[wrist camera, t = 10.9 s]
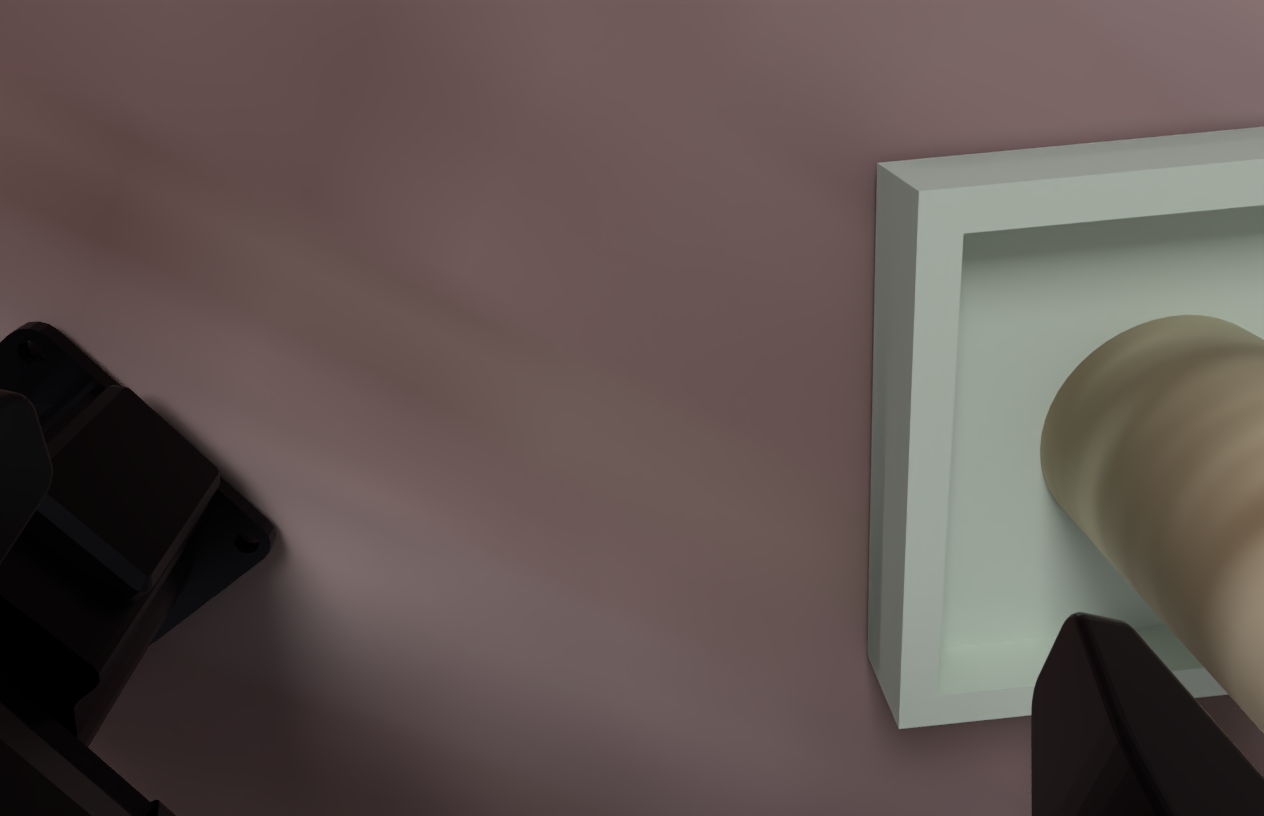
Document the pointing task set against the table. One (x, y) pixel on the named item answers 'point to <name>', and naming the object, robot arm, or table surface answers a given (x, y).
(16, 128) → the table surface
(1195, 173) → the tray
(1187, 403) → the dowel
